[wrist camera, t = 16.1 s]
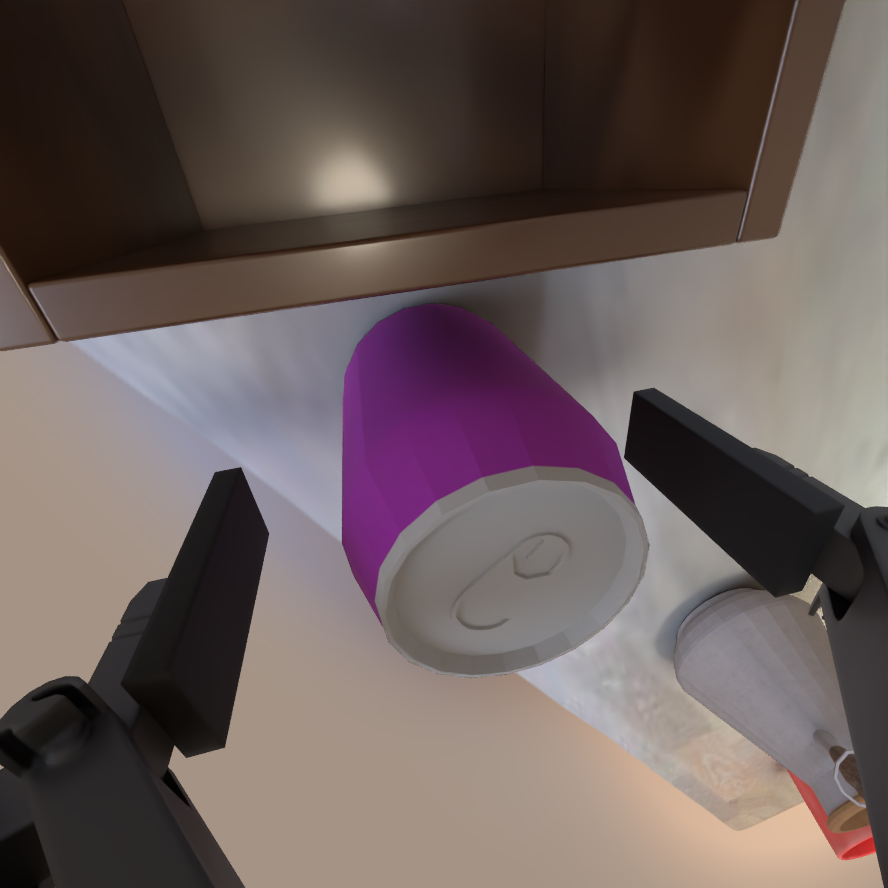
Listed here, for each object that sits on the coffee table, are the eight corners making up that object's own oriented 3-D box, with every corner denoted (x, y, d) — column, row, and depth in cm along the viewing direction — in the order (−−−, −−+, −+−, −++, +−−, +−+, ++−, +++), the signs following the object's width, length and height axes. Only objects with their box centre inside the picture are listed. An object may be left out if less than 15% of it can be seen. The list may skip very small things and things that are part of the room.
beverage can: (408, 256, 17) (508, 362, 6) (541, 361, 20) (741, 536, 10) (309, 407, 19) (270, 658, 9) (443, 478, 22) (525, 715, 12)
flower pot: (777, 745, 54) (854, 844, 46) (856, 716, 55) (946, 809, 47) (764, 777, 60) (831, 869, 52) (835, 751, 61) (912, 838, 52)
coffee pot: (797, 609, 37) (1030, 825, 25) (683, 677, 39) (843, 907, 27) (724, 472, 26) (1070, 730, 14) (574, 577, 29) (753, 880, 16)
